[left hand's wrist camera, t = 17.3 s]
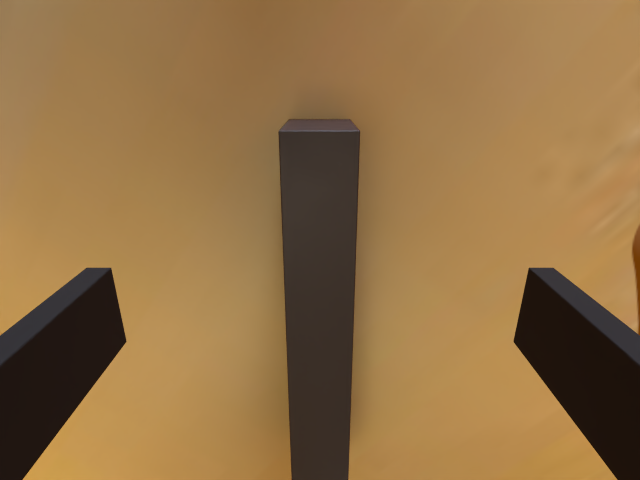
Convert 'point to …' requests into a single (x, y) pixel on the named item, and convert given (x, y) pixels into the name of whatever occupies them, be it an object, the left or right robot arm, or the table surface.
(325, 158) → the bar
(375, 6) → the table surface
